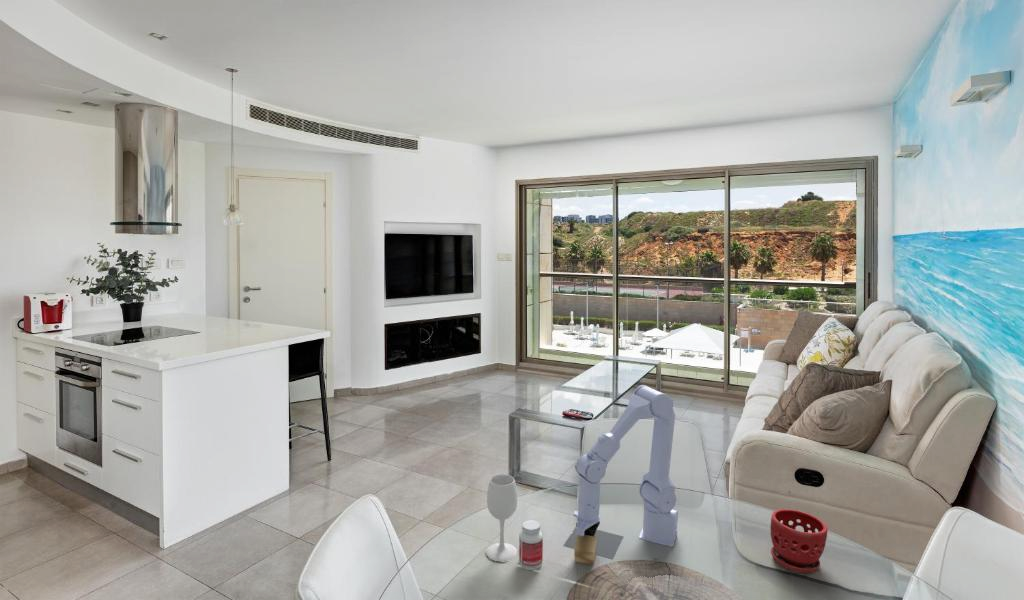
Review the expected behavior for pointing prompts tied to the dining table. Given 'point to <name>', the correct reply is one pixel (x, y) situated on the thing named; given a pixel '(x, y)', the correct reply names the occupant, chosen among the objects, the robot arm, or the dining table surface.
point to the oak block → (585, 549)
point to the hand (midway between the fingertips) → (587, 547)
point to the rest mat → (600, 543)
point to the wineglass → (502, 513)
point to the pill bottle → (530, 545)
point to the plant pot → (797, 540)
